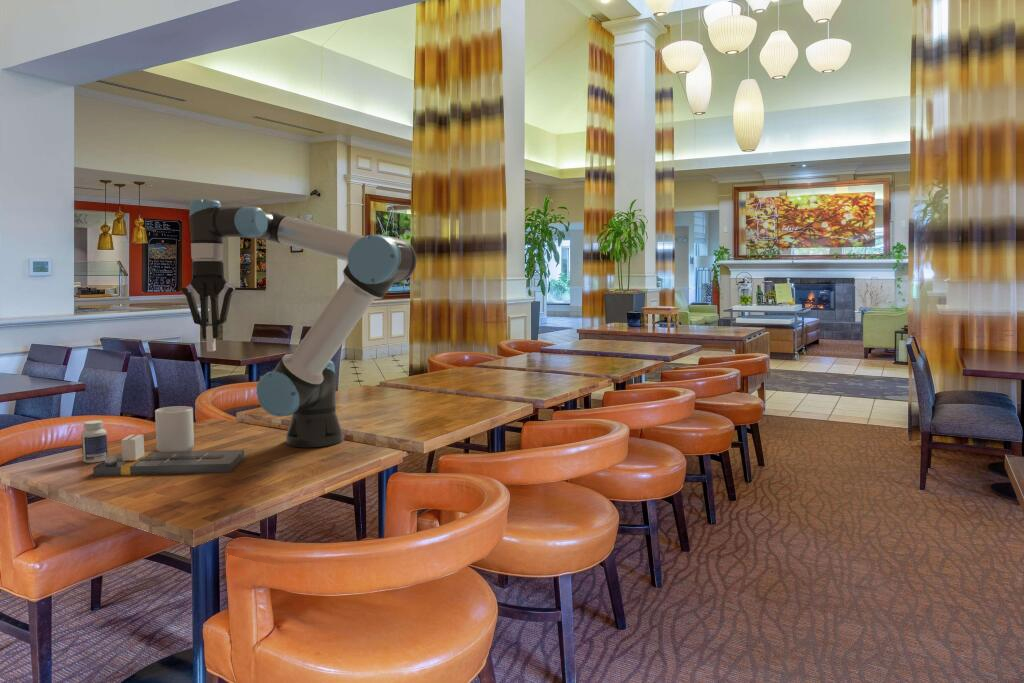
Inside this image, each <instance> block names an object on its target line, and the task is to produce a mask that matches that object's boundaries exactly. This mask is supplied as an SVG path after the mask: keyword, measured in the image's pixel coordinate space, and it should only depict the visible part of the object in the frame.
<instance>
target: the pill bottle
mask: <svg viewBox="0 0 1024 683" xmlns="http://www.w3.org/2000/svg"><path fill="white" fill-rule="evenodd" d="M103 422H104V421H103V420H88V421H85V422H84V423H83V428H84V431H82V432H81V434H80V436H81V452H82V453H81V454H82V461H83V463H87V464H90V463H98V462H99V463H100V462H104V461H105V456H109V454H108V452H109V451H108V437H107V436H108V434H107V430H106V429H104V428H103V427H104V423H103Z"/></svg>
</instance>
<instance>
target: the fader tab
mask: <svg viewBox="0 0 1024 683" xmlns="http://www.w3.org/2000/svg"><path fill="white" fill-rule="evenodd" d="M144 436H145V435H144V434H130V435H128V436H126V437H124V438H123V439H121V442H120V444H121V453H122V461H129V460H137V459H139V458H140V457H142V456H143V455H144V452H145V440H144Z"/></svg>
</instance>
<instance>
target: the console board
mask: <svg viewBox="0 0 1024 683" xmlns="http://www.w3.org/2000/svg"><path fill="white" fill-rule="evenodd" d="M244 459H245V449H228V450H227V449H226V450H225V449H224V450H223V449H222V450H190V451H181V452H159V451H154V452H153V451H144V455H143V456H142V457H140V458H139V459H137V460H129V461H122V452H117V453H116V454H110V455H109V454H108V456H105V460H104V461H101V463H100V462H99V464H97V465H96V466H94V467H92V470H93V471H92V472H93V473H92V474H93V477H109V476H113V477H114V476H140V475H141V476H143V475H170V474H171V475H172V474H175V475H176V474H205V473H206V474H207V473H231V472H232V471H233V470H234V469H235V468H236V467H237V466H238V465H239V464H240V463H241V461H242V460H244Z"/></svg>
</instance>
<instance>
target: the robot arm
mask: <svg viewBox="0 0 1024 683" xmlns="http://www.w3.org/2000/svg"><path fill="white" fill-rule="evenodd" d="M188 219H189V227H190V230H189V231H190V238H191V240H190V249H191V250H190V252H191V253H190V254H191V255H190V256H191V259H192V260H193V261H192V262H191V273H192V274H191V276H192V278H191V281H190V283H189V285H187V286H185V287H182V288H181V291H182V293H183V294H184V296H185V297H186V301H187V304H188V307H189V310H190V314H191V318H192V321H193V323H194V324H195V325H198V326H201V333H202V334H201V336H202V338H203V339H206V352H215V351H217V345H216V341H217V340H216V339H219V337H220V325H222V324H225V323H227V319H228V315H229V310H230V306H231V305H230V304H231V301H232V296H233V295H234V293H235V291H236V288H235V287H234V286H231V285H229V284H228V283H227V280H226V279H225V273H224V272H225V271H224V270H225V269H224V262H223V261H221V260H223V259H224V249H223V248H224V246H223V245H224V243H223V238H248V239H259V240H267V241H271V242H275V243H277V244H278V243H279V244H283V245H287V246H290V247H294V248H298V249H301V250H305V251H309V252H312V253H316V254H319V255H323V256H327V257H331V258H334V259H337V260H342V261H345V262H347V264H346V266H345V267H344V269H343V270H342V274H343V278H344V279H343V282H342V283H341V284H340V286H339V287H338V288H337V289H336V291H335V293H334V294H333V295H332V297H331V298H330V300H329V301H328V302H327V303H326V306H325V307H324V309H323V310H322V312H321V313H320V314H319V316H318V317H317V318H316V320H315V321H314V323H313V324H312V325H311V327H310V329H309V330H308V331H307V333H306V334H305V336H304V337H303V338H302V340H301V342H299V344H298V346H296V349H294V351H293V353H287V354H284V355H283V357H282V358H281V360H280V361H279V362H278V363H277V365H276V367H275V368H274V369H273V370H272V371H268V372H266V373H265V374H263V375H262V376H261V377H260V378H259V380H258V382H257V384H256V389H255V390H256V395H257V401H258V403H259V405H260V407H261V408H262V409H263V410H264V411H265V412H267V413H268V414H270V415H272V416H274V417H288V416H291V417H290V420H289V421H290V422H289V424H288V425H289V426H288V429H287V432H286V436H285V439H286V440H285V441H286V442H285V443H286V445H288V446H291V447H295V448H320V447H321V448H323V447H328V446H329V447H330V446H333V445H337V444H340V443H341V442H342V441H343V440H344V438H343V437H344V435H343V430H342V426H341V423H340V421H339V418H338V415H337V412H336V410H337V408H336V407H337V405H336V370H335V369H336V367H335V363H334V362H333V361H332V358H333V357H334V356H335V355H336V353H337V352H338V351H339V350H340V347H341V346H342V345H343V343H344V342H345V341H346V340H347V338H348V337H349V335H350V334H351V332H352V331H353V330H354V328H355V327H356V325H357V324H358V322H359V321H360V320H361V318H362V317H363V315H365V313H366V311H367V310H368V309H369V307H370V306H371V305H372V303H373V301H375V300H380V299H383V298H384V297H385V296H386V294H387V293H388V292H389V290H390V289H391V287H392V286H393V285H394V284H395V283H396V284H397V283H402V282H404V281H406V280H407V279H408V278H410V277H411V276H412V275H413V274H414V271H415V270H416V267H417V261H418V259H417V254H416V252H415V249H414V248H413V246H412V245H411V244H410V243H409V242H408V241H406V240H405V239H403V238H400V237H393V236H388V235H386V234H380V233H376V234H367V235H362V234H361V235H360V234H357V233H352V232H348V231H345V230H341V229H337V228H333V227H329V226H325V225H321V224H318V223H314V222H310V221H306V220H302V219H299V218H295V217H291V216H287V215H284V214H283V215H282V214H281V213H278V212H273V211H266V210H265V211H264V210H263V209H262V208H261V207H258V206H246V205H245V206H236V207H233V206H232V207H222V203H221V202H220V201H219V200H217V199H208V198H207V199H203V198H202V199H201V198H200V199H193V200H191V201H190V203H189V215H188ZM222 291H224V296H223V301H222V306H221V310H220V309H219V298H220V297H219V296H220V294H221V293H222ZM194 292H196V293H197V294H198V296H199V300H200V311H199V308H198V304H197V301H196V298H195V295H194ZM209 301H210V310H211V311H210V313H211V323H210V320H209V318H210V316H209ZM219 310H220V313H219ZM210 324H211V325H210Z"/></svg>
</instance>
